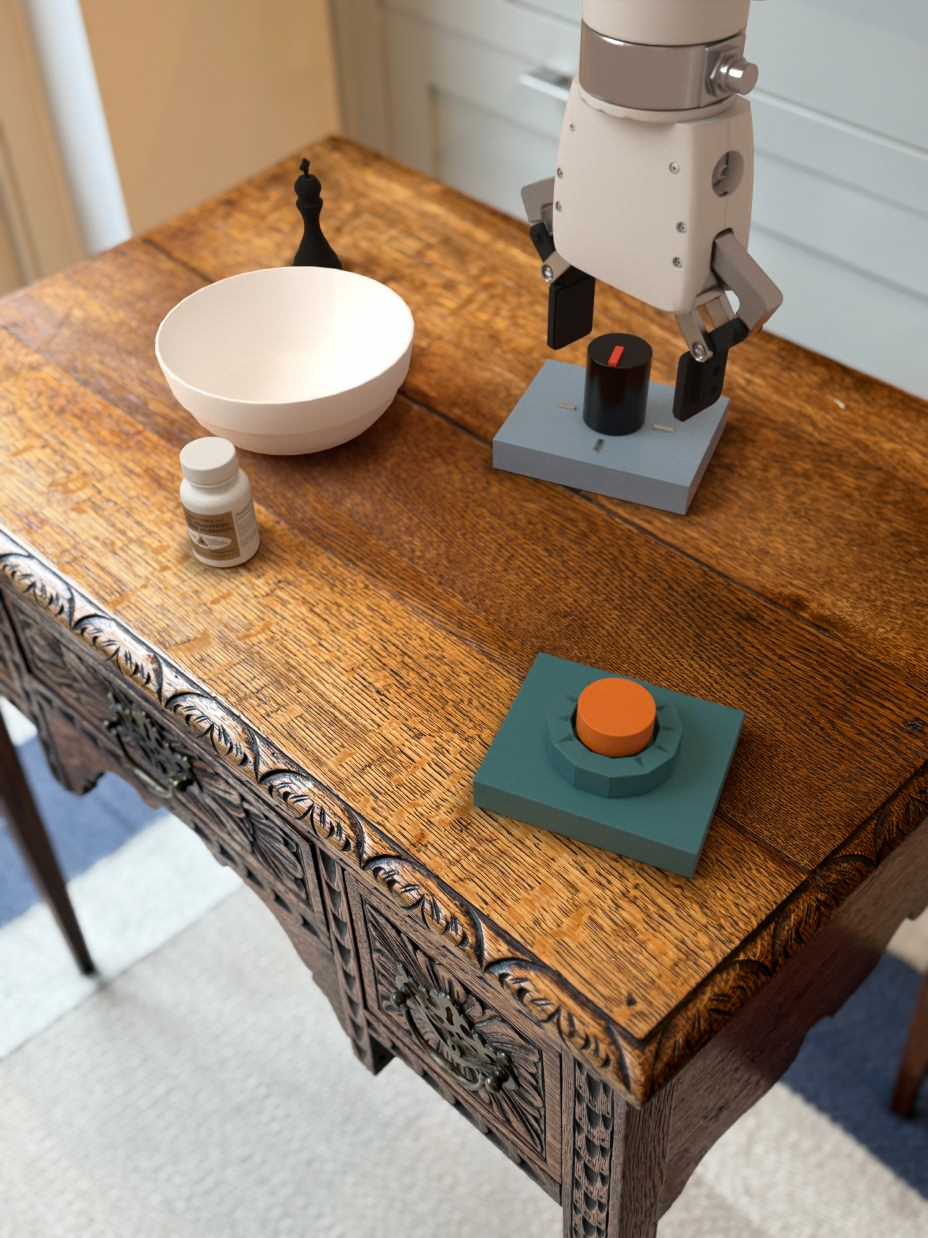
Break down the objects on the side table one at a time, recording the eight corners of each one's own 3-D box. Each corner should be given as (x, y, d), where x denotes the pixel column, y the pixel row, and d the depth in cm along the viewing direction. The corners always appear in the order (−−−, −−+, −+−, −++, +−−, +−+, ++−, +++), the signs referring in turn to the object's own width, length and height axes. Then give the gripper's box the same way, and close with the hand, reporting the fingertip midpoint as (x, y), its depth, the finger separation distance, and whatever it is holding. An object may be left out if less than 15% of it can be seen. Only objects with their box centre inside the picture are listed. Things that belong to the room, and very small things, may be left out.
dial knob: (591, 394, 85) (597, 323, 81) (651, 406, 84) (659, 334, 80) (575, 429, 82) (579, 357, 78) (636, 441, 81) (644, 368, 77)
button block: (739, 737, 66) (751, 689, 63) (692, 880, 59) (702, 833, 57) (538, 676, 69) (540, 628, 66) (472, 805, 63) (471, 758, 60)
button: (662, 712, 62) (665, 690, 61) (639, 767, 60) (643, 745, 59) (590, 690, 64) (592, 668, 62) (565, 744, 61) (567, 722, 60)
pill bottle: (180, 560, 77) (157, 465, 72) (215, 519, 80) (195, 425, 74) (239, 576, 76) (220, 481, 70) (272, 534, 79) (256, 440, 73)
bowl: (127, 464, 84) (104, 377, 79) (239, 333, 97) (225, 251, 92) (366, 512, 80) (358, 424, 75) (451, 369, 92) (449, 285, 87)
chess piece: (283, 278, 103) (268, 165, 96) (303, 254, 106) (290, 144, 99) (330, 285, 102) (318, 172, 95) (349, 261, 105) (339, 150, 98)
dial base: (725, 426, 87) (730, 396, 85) (685, 515, 79) (689, 484, 78) (546, 386, 91) (547, 356, 89) (492, 467, 84) (492, 437, 82)
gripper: (863, 90, 52) (793, 412, 64) (584, -2, 62) (569, 295, 74) (755, 138, 49) (703, 470, 61) (477, 33, 58) (479, 338, 70)
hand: (629, 373), depth 67 cm, fingers open, 9 cm apart
